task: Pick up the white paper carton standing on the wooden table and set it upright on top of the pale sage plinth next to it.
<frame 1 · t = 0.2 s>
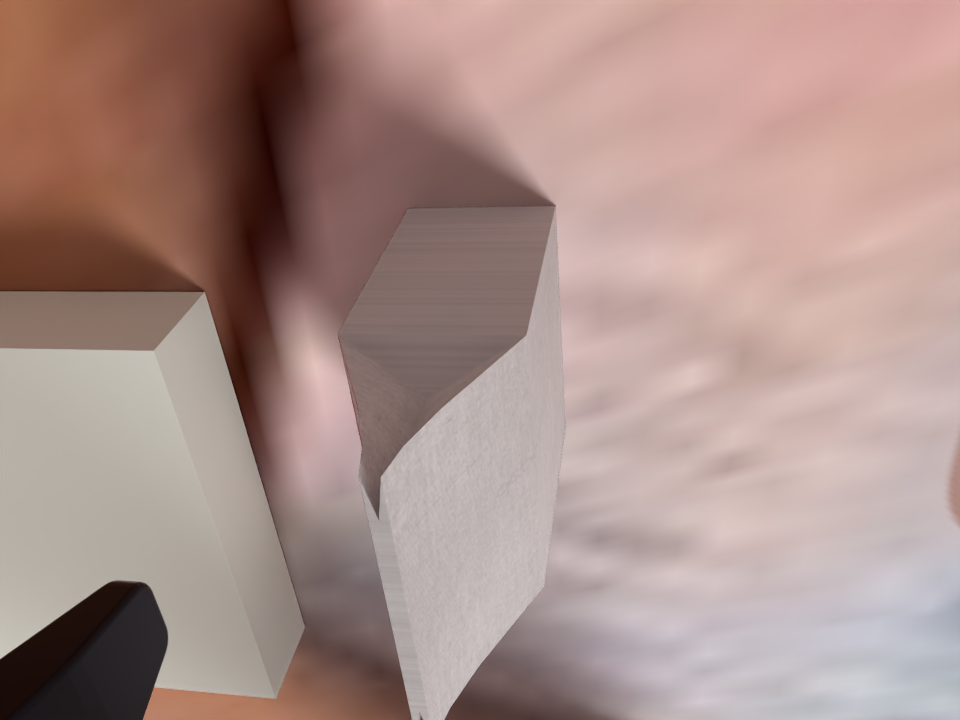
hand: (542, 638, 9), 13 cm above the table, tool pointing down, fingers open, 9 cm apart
plinth: (66, 473, 29), on the table
white paper carton: (493, 320, 23), on the table
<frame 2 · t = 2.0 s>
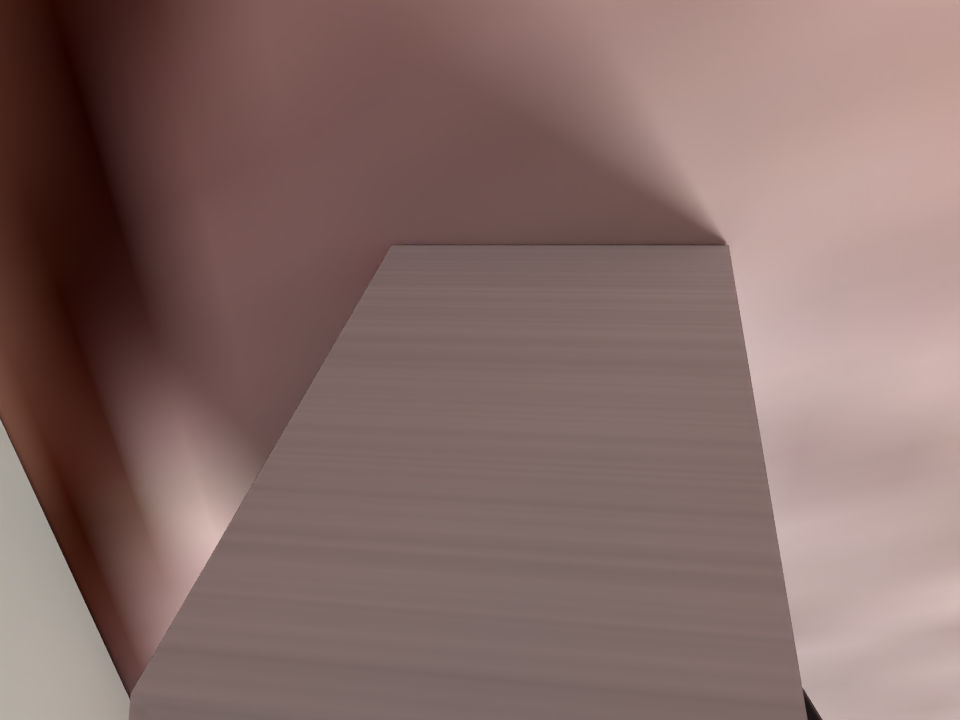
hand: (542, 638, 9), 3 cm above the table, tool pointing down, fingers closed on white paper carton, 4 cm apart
white paper carton: (563, 472, 11), on the table, touching gripper
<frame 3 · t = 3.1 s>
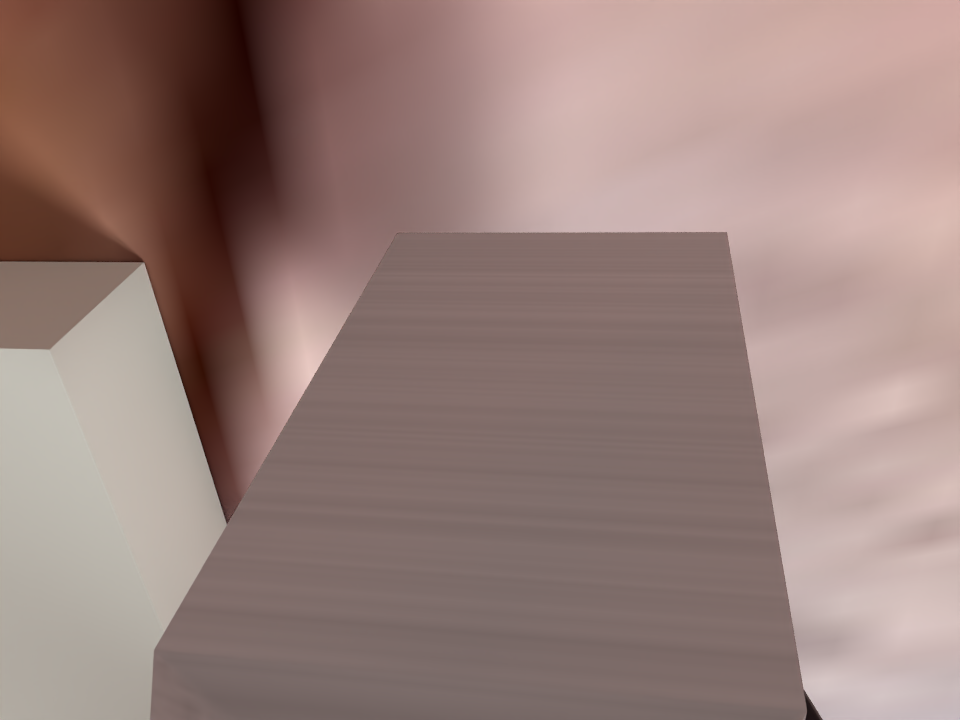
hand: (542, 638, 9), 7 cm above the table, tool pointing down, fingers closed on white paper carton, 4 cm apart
white paper carton: (565, 457, 12), point 4 cm above the table, touching gripper
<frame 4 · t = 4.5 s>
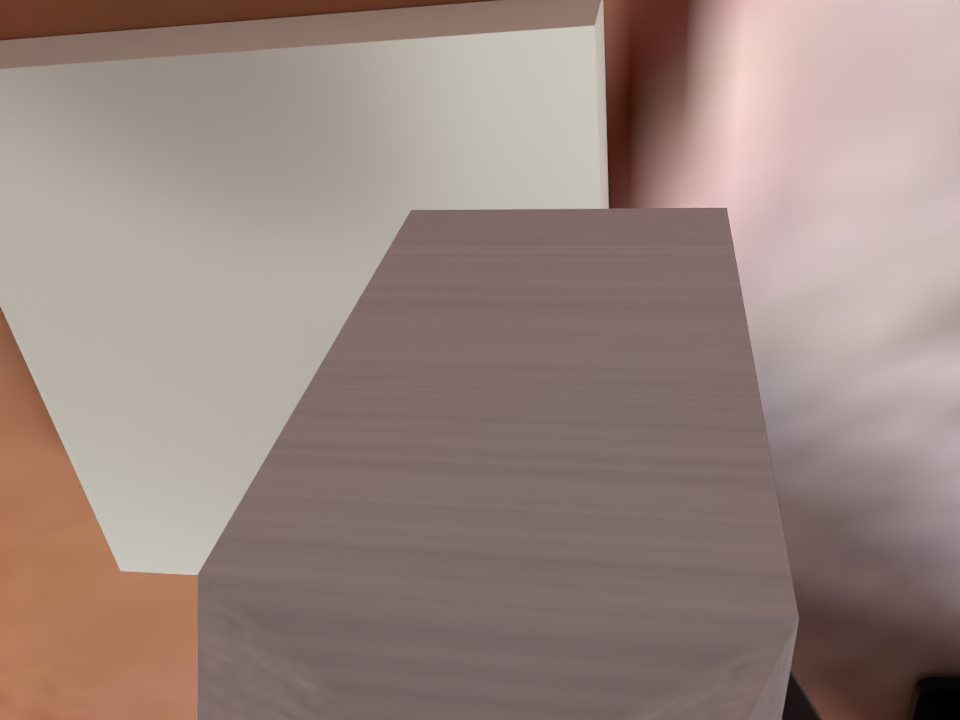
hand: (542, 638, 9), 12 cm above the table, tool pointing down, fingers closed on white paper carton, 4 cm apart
plinth: (336, 304, 22), on the table
white paper carton: (571, 429, 12), point 9 cm above the table, touching gripper
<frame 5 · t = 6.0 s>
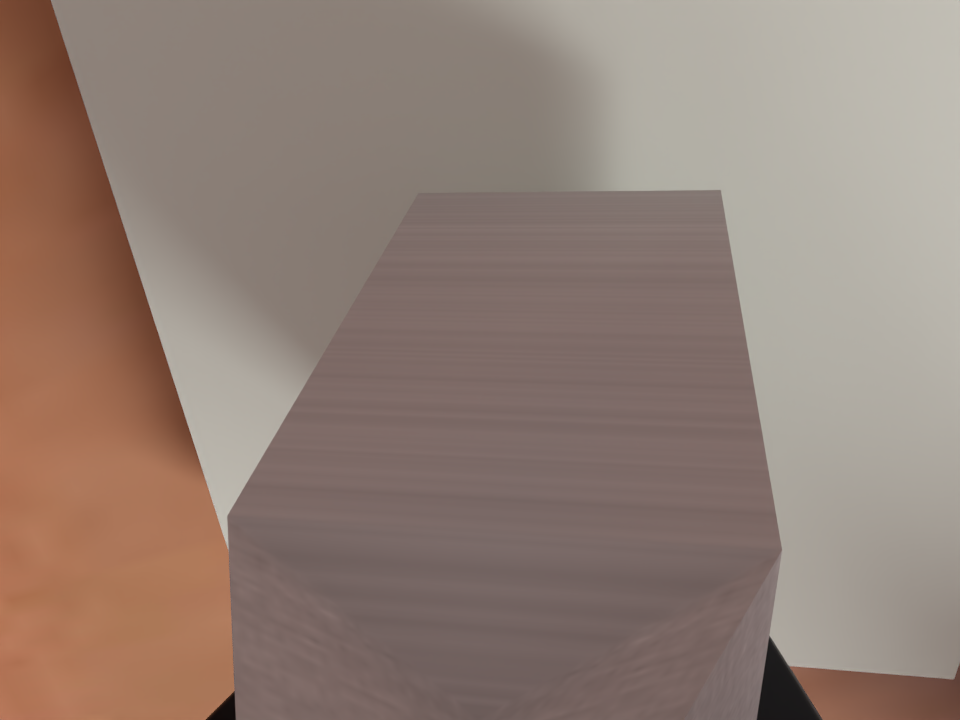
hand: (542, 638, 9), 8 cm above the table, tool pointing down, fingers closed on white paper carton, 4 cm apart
plinth: (582, 268, 16), on the table
white paper carton: (571, 407, 13), point 4 cm above the table, touching gripper
when the fingers open (7 cm above the table, at t = 6.7 s): white paper carton stays where it is, resting on plinth.
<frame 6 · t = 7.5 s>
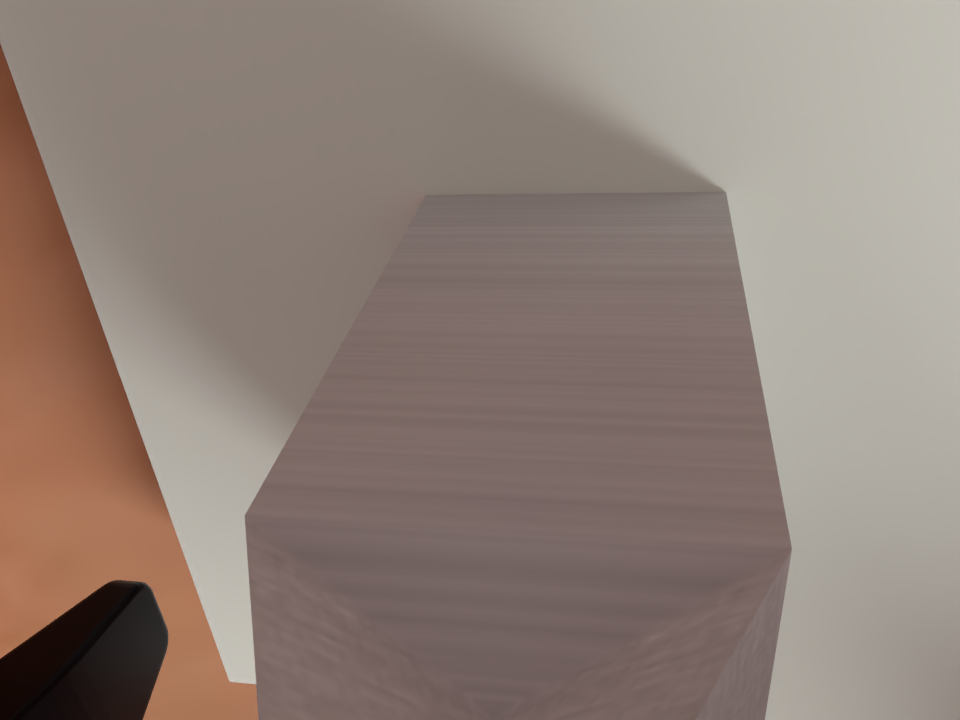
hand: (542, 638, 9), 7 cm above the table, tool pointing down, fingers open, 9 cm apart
plinth: (583, 311, 15), on the table
white paper carton: (577, 406, 13), point 3 cm above the table, touching plinth
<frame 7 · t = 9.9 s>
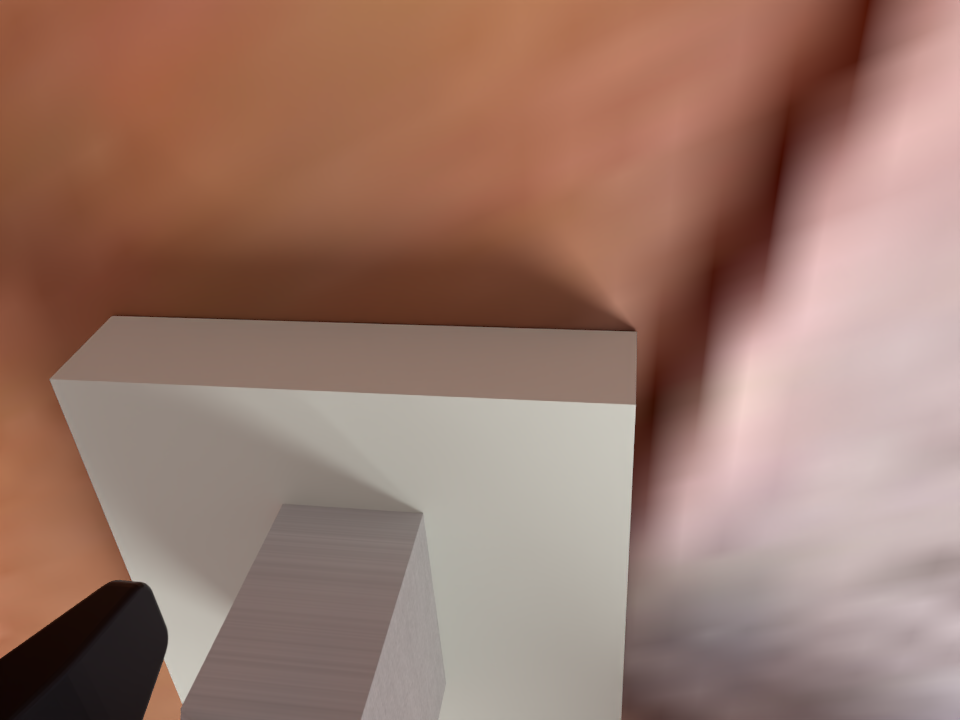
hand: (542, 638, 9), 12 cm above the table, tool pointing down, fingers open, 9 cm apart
plinth: (392, 521, 26), on the table
white paper carton: (371, 593, 24), point 3 cm above the table, touching plinth
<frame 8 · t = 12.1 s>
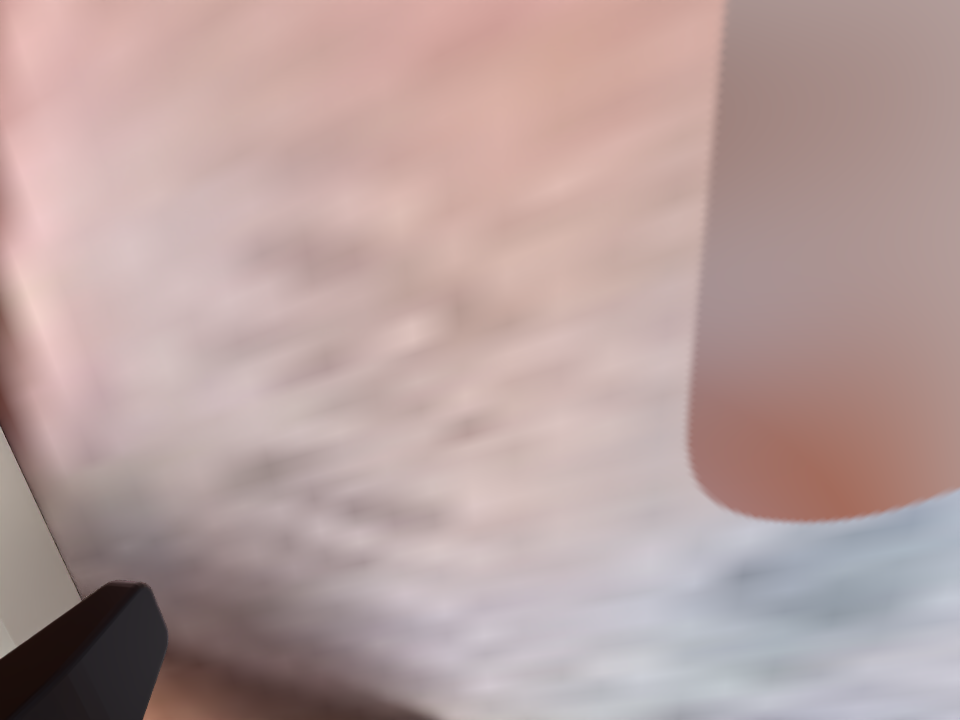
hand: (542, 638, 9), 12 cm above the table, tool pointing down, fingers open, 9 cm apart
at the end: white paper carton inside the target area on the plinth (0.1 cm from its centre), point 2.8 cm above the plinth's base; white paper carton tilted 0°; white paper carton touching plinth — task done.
